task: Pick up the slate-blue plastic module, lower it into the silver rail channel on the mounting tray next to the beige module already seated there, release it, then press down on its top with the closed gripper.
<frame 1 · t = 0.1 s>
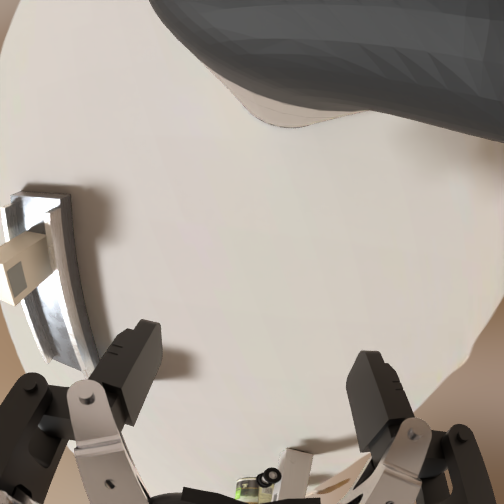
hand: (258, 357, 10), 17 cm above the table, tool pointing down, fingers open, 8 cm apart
grey wheeled device: (288, 451, 44), on the table
coffee can: (256, 482, 54), on the table
mounting tray: (57, 291, 32), on the table
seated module: (39, 251, 27), point 2 cm above the table, touching mounting tray
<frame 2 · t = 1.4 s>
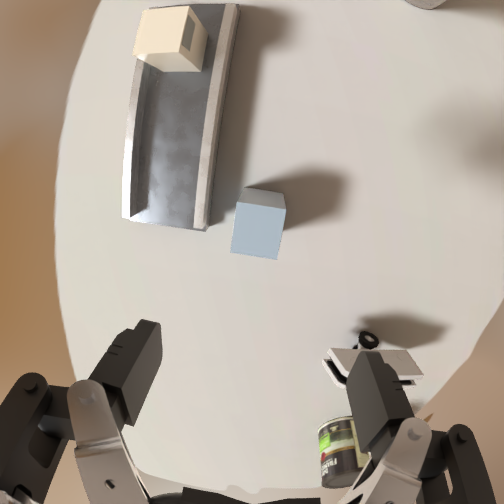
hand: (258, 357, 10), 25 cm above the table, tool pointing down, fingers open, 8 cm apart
grey wheeled device: (405, 361, 37), point 4 cm above the table
coffee can: (340, 427, 50), on the table
mounting tray: (181, 109, 29), on the table
module: (260, 210, 33), on the table
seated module: (185, 52, 24), point 2 cm above the table, touching mounting tray
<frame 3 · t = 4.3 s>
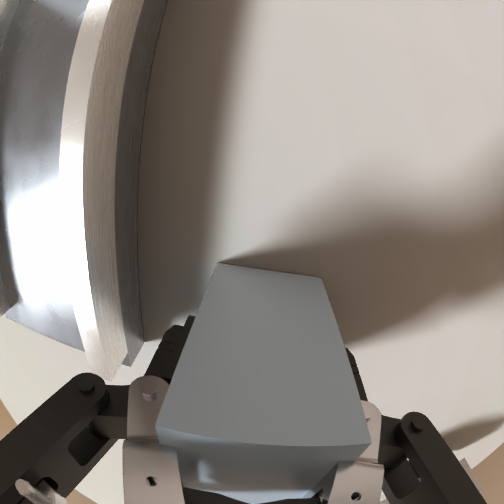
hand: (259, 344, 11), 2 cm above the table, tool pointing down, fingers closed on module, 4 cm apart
mounting tray: (64, 71, 9), on the table
module: (261, 318, 13), on the table, touching gripper
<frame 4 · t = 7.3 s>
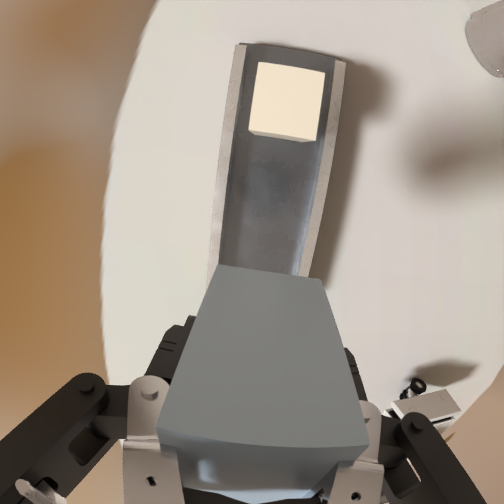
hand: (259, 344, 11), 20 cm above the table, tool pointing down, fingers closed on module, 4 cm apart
grey wheeled device: (444, 398, 36), point 3 cm above the table
mounting tray: (271, 181, 28), on the table
module: (261, 319, 13), point 18 cm above the table, touching gripper
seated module: (282, 113, 24), point 2 cm above the table, touching mounting tray
when the fingers open (6 cm above the table, at t = 10.2 s): module drops 2 cm, resting on mounting tray.
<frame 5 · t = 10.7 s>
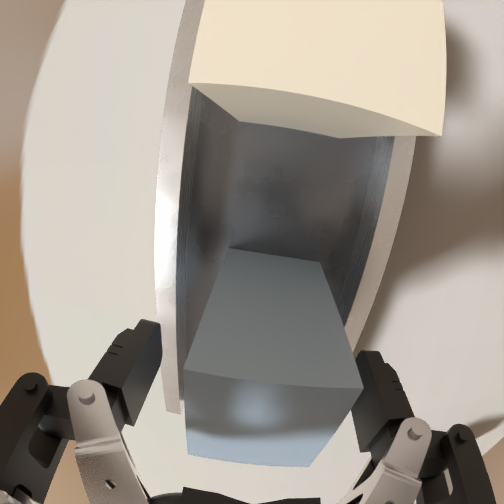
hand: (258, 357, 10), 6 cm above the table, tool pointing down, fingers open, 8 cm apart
mounting tray: (274, 214, 15), on the table
module: (266, 299, 14), point 2 cm above the table, touching mounting tray
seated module: (297, 76, 10), point 2 cm above the table, touching mounting tray
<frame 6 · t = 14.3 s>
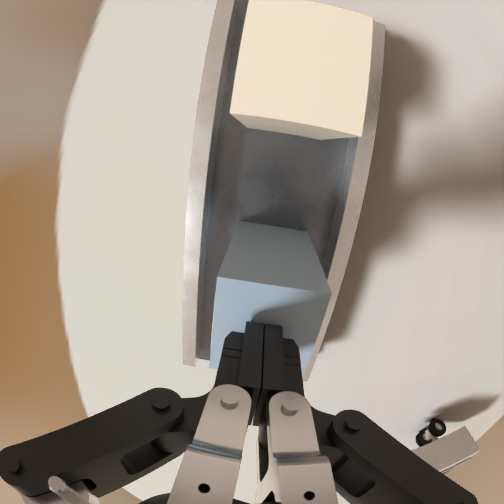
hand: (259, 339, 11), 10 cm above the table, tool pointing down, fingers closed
grey wheeled device: (463, 435, 27), point 3 cm above the table
mounting tray: (273, 197, 19), on the table
module: (267, 261, 19), point 2 cm above the table, touching mounting tray
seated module: (290, 95, 15), point 2 cm above the table, touching mounting tray
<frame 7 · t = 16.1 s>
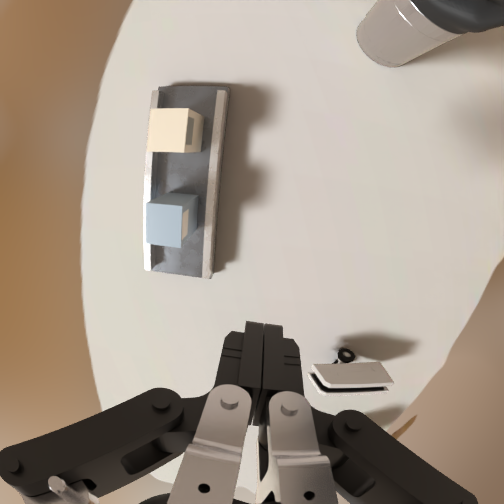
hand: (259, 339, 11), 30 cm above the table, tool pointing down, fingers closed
grey wheeled device: (379, 370, 46), point 3 cm above the table
mounting tray: (186, 181, 39), on the table
module: (182, 210, 39), point 2 cm above the table, touching mounting tray
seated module: (186, 133, 35), point 2 cm above the table, touching mounting tray
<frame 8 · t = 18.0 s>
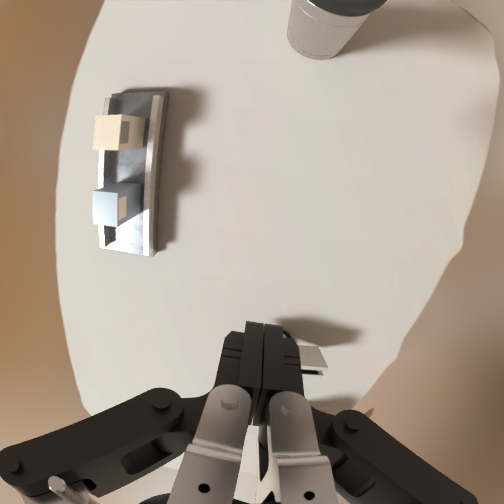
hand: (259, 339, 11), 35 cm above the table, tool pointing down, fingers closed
grey wheeled device: (317, 355, 51), point 3 cm above the table
mounting tray: (134, 172, 44), on the table
module: (128, 197, 43), point 2 cm above the table, touching mounting tray
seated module: (131, 132, 39), point 2 cm above the table, touching mounting tray
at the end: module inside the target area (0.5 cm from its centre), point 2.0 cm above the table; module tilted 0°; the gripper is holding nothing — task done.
